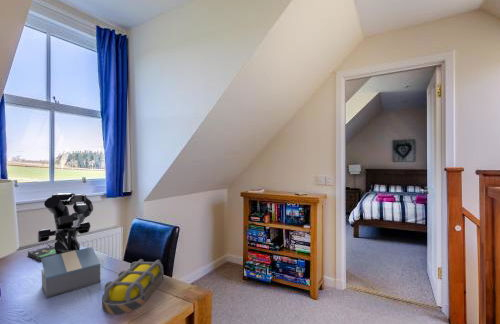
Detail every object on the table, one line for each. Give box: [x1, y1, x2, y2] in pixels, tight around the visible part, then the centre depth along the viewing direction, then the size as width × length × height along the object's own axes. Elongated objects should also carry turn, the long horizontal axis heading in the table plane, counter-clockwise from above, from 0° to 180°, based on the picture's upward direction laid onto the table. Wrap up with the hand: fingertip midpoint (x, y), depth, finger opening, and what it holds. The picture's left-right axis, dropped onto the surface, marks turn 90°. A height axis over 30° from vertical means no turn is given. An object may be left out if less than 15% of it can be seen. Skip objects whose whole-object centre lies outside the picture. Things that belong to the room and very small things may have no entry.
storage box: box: [41, 265, 101, 299], centre depth 109 cm, size 13×18×7 cm
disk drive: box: [27, 246, 58, 263], centre depth 140 cm, size 10×3×15 cm
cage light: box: [101, 258, 164, 315], centre depth 104 cm, size 15×8×30 cm
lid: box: [41, 246, 101, 280], centre depth 108 cm, size 13×18×1 cm
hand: (68, 248), depth 113 cm, fingers closed
